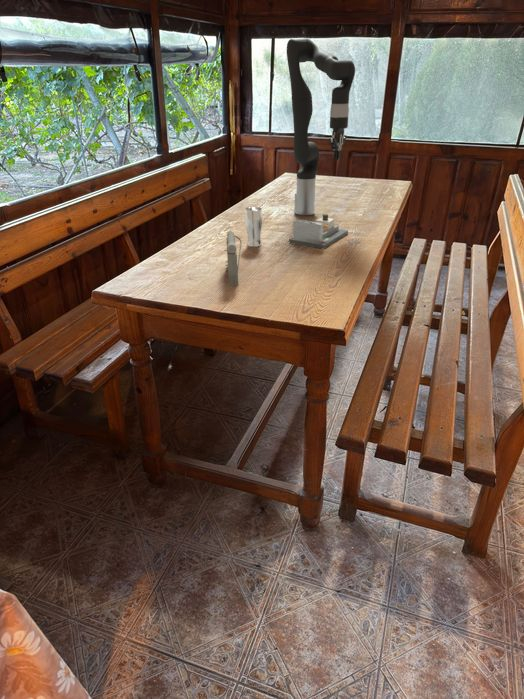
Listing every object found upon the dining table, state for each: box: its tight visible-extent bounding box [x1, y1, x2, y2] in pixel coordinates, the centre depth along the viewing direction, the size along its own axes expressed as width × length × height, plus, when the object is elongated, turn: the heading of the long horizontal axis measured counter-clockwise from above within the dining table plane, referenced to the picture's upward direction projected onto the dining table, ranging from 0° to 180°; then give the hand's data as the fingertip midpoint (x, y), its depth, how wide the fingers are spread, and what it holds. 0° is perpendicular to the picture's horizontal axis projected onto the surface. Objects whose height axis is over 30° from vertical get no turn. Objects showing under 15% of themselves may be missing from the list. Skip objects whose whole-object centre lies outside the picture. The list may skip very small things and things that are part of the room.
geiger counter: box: [223, 230, 242, 286], centre depth 171 cm, size 14×6×25 cm
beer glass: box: [244, 206, 263, 248], centre depth 202 cm, size 7×7×15 cm
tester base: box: [288, 225, 349, 249], centre depth 212 cm, size 16×24×4 cm, turn 148°
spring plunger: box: [315, 213, 335, 233], centre depth 214 cm, size 6×6×7 cm
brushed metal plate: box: [292, 219, 323, 244], centre depth 202 cm, size 12×3×8 cm, turn 58°
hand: (336, 159), depth 214 cm, fingers closed
